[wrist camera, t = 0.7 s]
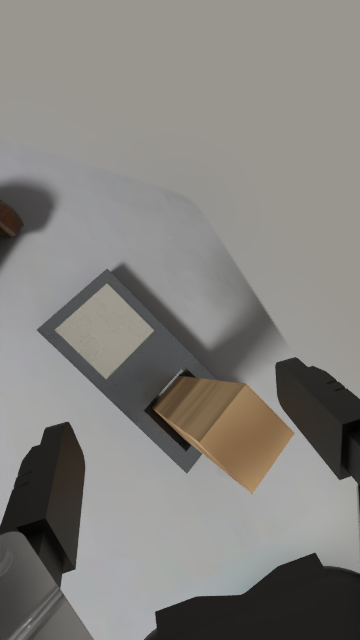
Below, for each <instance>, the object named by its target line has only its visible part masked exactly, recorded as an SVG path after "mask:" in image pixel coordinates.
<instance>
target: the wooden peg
mask: <svg viewBox="0 0 360 640" xmlns="http://www.w3.org/2000/svg"><path fill="white" fill-rule="evenodd" d="M151 408H152V409H153V410H154V411H155V412H156V413H157V414H158V415H159V416H160V417H162V418H163V419H164V420H165V421H166V422H167V423H168V424H169V425H170V426H171V427H172V428H173V429H174V430H175V431H176V432H177V433H178V434H179V435H180V436H181V437H183V438H184V439H185V440H186V441H188V442H189V443H190V444H191V445H192V446H194V447H195V448H196V449H197V450H199V451H200V452H201V453H202V454H204V455H205V456H206V457H207V458H208V459H210V460H211V461H212V462H213V463H215V464H216V465H217V466H218V467H220V468H221V469H222V470H223V471H224V472H226V473H227V474H228V475H229V476H231V477H232V478H233V479H234V480H236V481H237V482H238V483H239V484H241V485H242V486H243V487H244V488H245V489H247V490H248V491H249V492H250V493H252V494H253V492H254V491H255V490H256V488H257V487H258V485H259V484H260V482H261V481H262V479H263V478H264V477H265V475H266V474H267V472H268V471H269V469H270V468H271V466H272V465H273V464H274V462H275V461H276V459H277V458H278V456H279V455H280V453H281V452H282V450H283V449H284V448H285V446H286V445H287V443H288V442H289V440H290V439H291V437H292V436H293V435H294V432H293V431H292V430H291V429H290V428H289V427H288V426H287V425H286V424H285V423H284V422H283V421H282V420H281V419H280V418H279V417H278V416H277V415H276V414H275V413H274V412H273V410H272V409H271V408H270V407H269V406H268V405H267V404H266V403H265V402H264V401H263V400H262V399H261V398H260V397H259V396H258V395H257V394H256V393H255V392H254V391H253V390H252V389H251V388H250V387H249V386H248V385H247V384H244V383H236V382H227V381H219V380H210V379H202V378H193V377H185V376H178V377H177V378H176V379H175V380H174V381H173V383H172V384H171V385H170V386H169V387H168V388H167V389H166V390H165V391H164V393H163V394H162V395H161V396H160V397H159V398H158V399H157V400H156V401H155V403H154V404H153V405H152V406H151Z"/></svg>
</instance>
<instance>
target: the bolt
mask: <svg viewBox="0 0 360 640" xmlns="http://www.w3.org/2000/svg"><path fill="white" fill-rule="evenodd" d="M22 226H23V222H22V220H21V218H20V217H19V215H18V214H17V213H16V212H15V211H14V210H13V209H12V208H11V207H9V206H8V205H7V204H5V203H4V202H3V201H1V200H0V235H1V234H2V235H4V236H6V237H8V238H10V237H13V236H17V234H18V233H19V231H20V230H21V228H22Z"/></svg>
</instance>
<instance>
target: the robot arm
mask: <svg viewBox="0 0 360 640" xmlns="http://www.w3.org/2000/svg"><path fill="white" fill-rule="evenodd" d="M275 369H276V384H277V396H278V400H279V403H280V405H281V407H282V409H283V410H284V411H285V413H286V414H287V415H288V416H289V418H290V419H291V420H292V421H293V423H294V424H295V425H296V426H297V428H298V429H299V430H300V431H301V433H302V434H303V435H304V436H305V438H306V439H307V440H308V441H309V443H310V444H311V445H312V446H313V448H314V449H315V450H316V451H317V453H318V454H319V455H320V456H321V458H322V459H323V460H324V461H325V463H326V464H327V465H328V466H329V468H330V469H331V470H332V471H333V473H334V474H335V475H336V476H337V478H338V479H339V480H341V479H344V478H347V477H350V476H352V477H353V478H354V479H355V481H356V482H357V505H358V524H359V525H358V526H359V547H360V399H359V398H358V397H357V396H355V395H354V394H353V393H352V392H350V391H349V390H348V389H345V387H344V386H343V385H342V384H341V383H340V382H337V381H336V379H335V378H333V377H332V376H331V375H330V374H329V373H327V372H326V371H324V370H321V369H319V368H316V367H314V366H311V367H307V366H306V365H305V364H304V363H303V362H301V361H300V360H299V359H298V358H296V357H294V358H291V359H287V360H284V361H280V362H277V363H276V366H275ZM84 476H85V460H84V455H83V452H82V450H81V447H80V445H79V443H78V441H77V438H76V436H75V434H74V431H73V429H72V427H71V425H70V423H69V422H64V423H61V424H57V425H54V426H50V427H47V428H45V430H44V433H43V437H42V440H41V444H40V445H38V446H34V447H32V448H31V450H30V451H29V452H28V454H27V455H26V457H25V458H24V459H23V461H22V463H21V466H20V469H19V472H18V477H17V478H16V481H15V484H14V489H13V490H12V493H11V496H10V499H9V502H8V505H7V508H6V511H5V514H4V517H3V520H2V523H1V526H0V640H94V639H93V638H92V636H91V635H90V633H89V632H88V630H87V629H86V627H85V626H84V624H83V623H82V621H81V620H80V618H79V617H78V615H77V614H76V612H75V611H74V609H73V608H72V606H71V605H70V603H69V602H68V600H67V599H66V597H65V596H64V594H63V593H62V591H61V590H60V587H61V579H62V574H63V573H66V572H69V571H72V570H75V568H76V558H77V548H78V537H79V527H80V517H81V507H82V497H83V486H84ZM155 615H156V624H157V628H156V629H155V630H153V631H152V632H151V633H150V634H149V635H148V636H147V637H146V638H145V639H144V640H360V549H359V573H357V572H354V571H352V570H348V569H344V568H340V567H332V566H323V565H322V564H321V562H320V560H319V558H318V557H317V555H316V553H313V554H310V555H308V556H305V557H302V558H299V559H297V560H294V561H291V562H289V563H286V564H283V565H280V566H278V567H277V568H275V569H274V570H273V571H272V572H270V573H269V574H268V575H267V576H265V577H264V578H263V579H262V580H261V581H259V582H258V583H257V584H256V585H254V586H253V587H252V588H251V589H249V590H248V591H247V592H246V593H244V594H242V595H232V596H199V597H194V598H191V599H189V600H186V601H183V602H181V603H178V604H175V605H172V606H170V607H167V608H164V609H162V610H159V611H156V612H155Z"/></svg>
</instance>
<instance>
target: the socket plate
mask: <svg viewBox="0 0 360 640" xmlns="http://www.w3.org/2000/svg"><path fill="white" fill-rule="evenodd" d="M37 331H38V332H39V333H40V334H41V335H42V336H44V337H45V338H46V339H47V340H48V341H49V342H50V343H51V344H52V345H53V346H54V347H55V348H56V349H57V350H58V351H59V352H60V353H61V354H62V355H63V356H64V357H65V358H67V359H68V360H69V361H70V362H71V363H72V364H73V365H74V366H75V367H76V368H77V369H78V370H79V371H80V372H81V373H82V374H83V375H84V376H85V377H86V378H87V379H89V380H90V381H91V382H92V383H93V384H94V385H95V386H96V387H97V388H98V389H99V390H100V391H101V392H102V393H103V394H104V395H105V396H106V397H107V398H108V399H109V400H110V401H112V402H113V403H114V404H115V405H116V406H117V407H118V408H119V409H120V410H121V411H122V412H123V413H124V414H125V415H126V416H127V417H128V418H129V419H130V420H131V421H132V422H134V423H135V424H136V425H137V426H138V427H139V428H140V429H141V430H142V431H143V432H144V433H145V434H146V435H147V436H148V437H149V438H150V439H151V440H152V441H153V442H154V443H155V444H157V445H158V446H159V447H160V448H161V449H162V450H163V451H164V452H165V453H166V454H167V455H168V456H169V457H170V458H171V459H172V460H173V461H174V462H175V463H176V464H177V465H179V466H180V467H181V468H182V469H183V470H184V471H185V472H186V473H188V472H189V470H190V469H191V468H192V466H193V465H194V464H195V463H196V461H197V460H198V459H199V458H200V456H201V455H202V453H201V452H200V451H199V450H197V449H196V448H195V447H194V446H192V445H191V444H190V443H189V442H188V441H186V440H185V441H184V442H183V443H182V445H181V446H180V445H179V444H178V443H177V442H176V441H175V440H174V439H173V438H172V437H171V436H170V435H168V434H167V433H166V432H165V431H164V430H163V429H162V428H161V427H160V426H159V425H158V424H157V423H156V422H155V421H154V420H153V419H152V418H151V417H150V416H149V415H148V414H147V413H146V412H145V411H144V410H145V409H146V407H147V406H148V405H149V404H150V403H151V402H152V401H153V400H154V399H155V397H156V396H157V395H158V394H159V393H160V392H161V391H162V390H163V389H164V387H165V386H166V385H167V384H168V383H169V382H170V381H171V380H172V379H173V377H174V376H175V375H176V374H177V373H178V372H179V371H180V370H181V369H182V370H183V371H184V372H185V373H186V374H187V375H188V376H189V377H193V378H202V379H210V380H217V379H216V378H215V377H214V376H213V375H212V374H211V373H210V372H209V371H208V370H207V369H206V368H205V367H204V366H203V365H202V364H201V363H200V362H199V361H198V360H197V359H196V358H195V357H194V356H193V355H192V354H191V353H190V352H189V351H188V350H187V349H186V348H185V347H184V346H183V345H182V344H181V343H180V342H179V341H178V340H177V339H176V338H175V337H174V336H173V335H172V334H171V333H170V332H169V331H168V330H167V329H166V328H165V327H164V326H163V324H162V323H161V322H160V321H159V320H158V319H157V318H156V317H155V316H154V315H153V314H152V313H151V312H150V311H149V310H148V309H147V308H146V307H145V306H144V305H143V304H142V303H141V302H140V301H139V300H138V299H137V298H136V297H135V296H134V295H133V294H132V293H131V292H130V291H129V290H128V289H127V288H126V287H125V286H124V285H123V284H122V283H121V282H120V281H119V280H118V279H117V278H116V277H115V276H114V275H113V274H112V273H111V272H110V271H109V270H108V269H106V270H105V271H104V272H103V273H102V274H100V275H99V276H98V277H97V278H96V279H95V280H94V281H92V282H91V283H90V284H89V285H88V286H87V287H86V288H84V289H83V290H82V291H81V292H80V293H79V294H78V295H76V296H75V297H74V298H73V299H72V300H71V301H69V302H68V303H67V304H66V305H65V306H64V307H63V308H61V309H60V310H59V311H58V312H57V313H56V314H55V315H53V316H52V317H51V318H50V319H49V320H48V321H46V322H45V323H44V324H43V325H42V326H41V327H40V328H38V329H37Z"/></svg>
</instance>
